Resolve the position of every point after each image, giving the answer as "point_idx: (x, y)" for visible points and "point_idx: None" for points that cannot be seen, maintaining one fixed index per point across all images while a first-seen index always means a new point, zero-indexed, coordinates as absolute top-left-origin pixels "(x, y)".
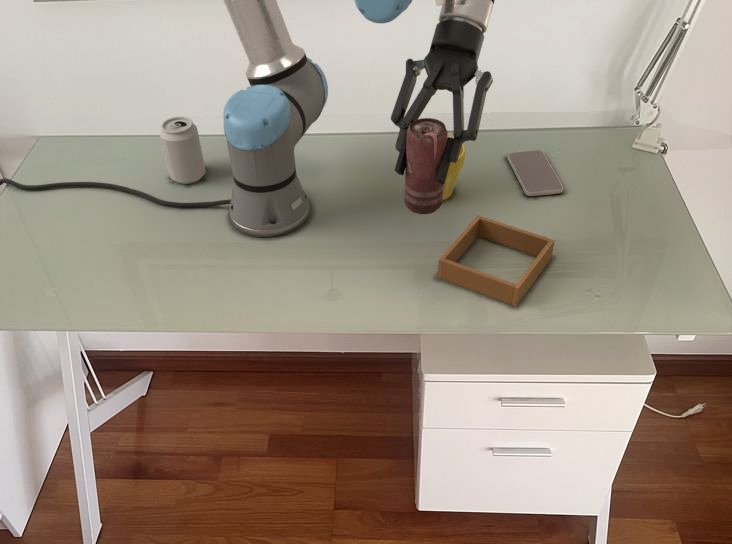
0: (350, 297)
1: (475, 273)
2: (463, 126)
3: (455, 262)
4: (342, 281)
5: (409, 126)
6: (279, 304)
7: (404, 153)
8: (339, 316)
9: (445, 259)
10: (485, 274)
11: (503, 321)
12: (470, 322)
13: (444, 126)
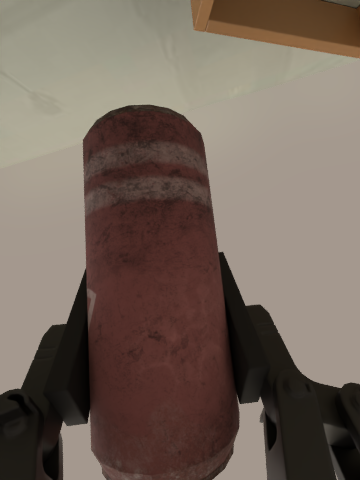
0: (72, 99)
1: (283, 44)
2: (324, 467)
3: (237, 26)
4: (26, 73)
5: (51, 438)
6: (8, 137)
7: None
8: (89, 129)
9: (211, 24)
10: (306, 43)
11: (315, 64)
12: (260, 83)
13: (227, 452)
